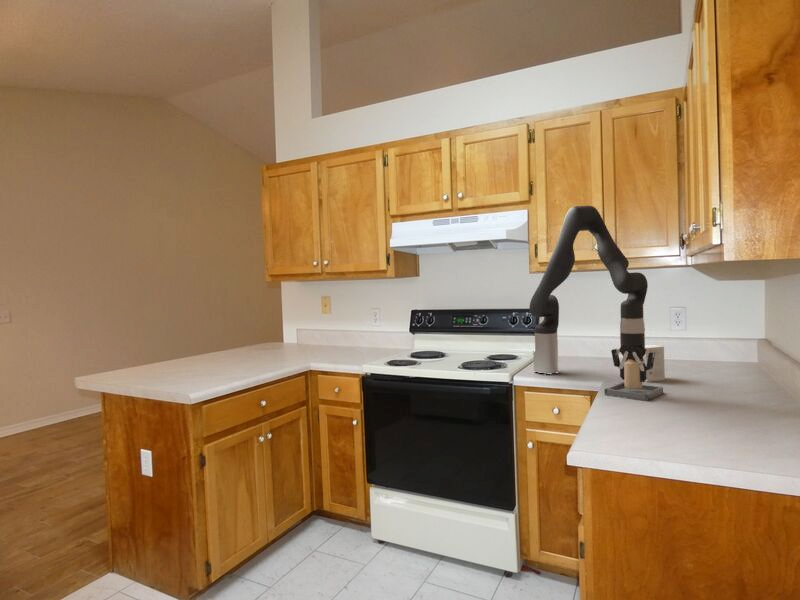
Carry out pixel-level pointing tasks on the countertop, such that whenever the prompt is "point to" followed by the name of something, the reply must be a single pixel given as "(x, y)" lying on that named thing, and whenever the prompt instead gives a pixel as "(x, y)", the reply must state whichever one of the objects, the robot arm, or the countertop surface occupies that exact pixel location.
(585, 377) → the countertop surface
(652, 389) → the rest tray
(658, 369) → the small box
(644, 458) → the countertop surface
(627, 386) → the candle
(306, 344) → the countertop surface
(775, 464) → the countertop surface
